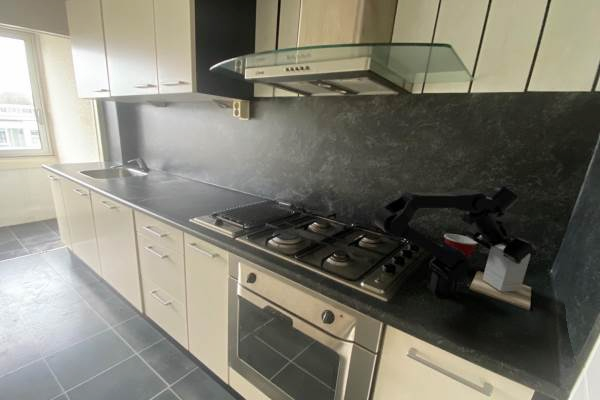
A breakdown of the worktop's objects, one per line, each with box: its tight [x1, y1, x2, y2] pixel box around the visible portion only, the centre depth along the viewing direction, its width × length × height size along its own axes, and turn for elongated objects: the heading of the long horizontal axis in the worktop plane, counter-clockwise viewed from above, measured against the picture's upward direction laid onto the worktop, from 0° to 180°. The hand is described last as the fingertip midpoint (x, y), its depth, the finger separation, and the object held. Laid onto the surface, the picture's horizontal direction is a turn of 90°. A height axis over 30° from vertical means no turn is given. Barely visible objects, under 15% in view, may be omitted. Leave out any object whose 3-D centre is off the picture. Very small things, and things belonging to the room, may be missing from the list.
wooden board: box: [469, 270, 532, 311], centre depth 88 cm, size 15×15×1 cm
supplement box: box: [483, 244, 531, 291], centre depth 86 cm, size 7×7×13 cm
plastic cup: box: [443, 233, 478, 260], centre depth 100 cm, size 11×11×12 cm
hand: (508, 257), depth 85 cm, fingers closed on supplement box, 7 cm apart
